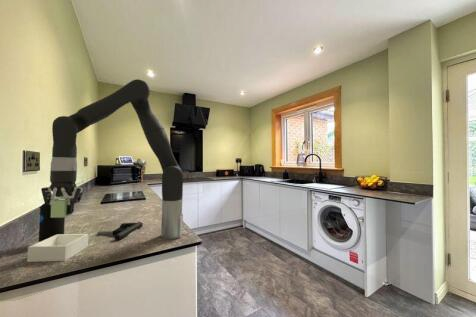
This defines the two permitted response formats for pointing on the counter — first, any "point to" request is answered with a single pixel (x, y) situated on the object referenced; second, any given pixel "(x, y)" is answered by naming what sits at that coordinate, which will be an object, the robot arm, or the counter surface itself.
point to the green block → (59, 208)
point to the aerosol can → (49, 223)
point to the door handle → (122, 230)
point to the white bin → (57, 247)
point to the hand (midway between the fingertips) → (62, 214)
